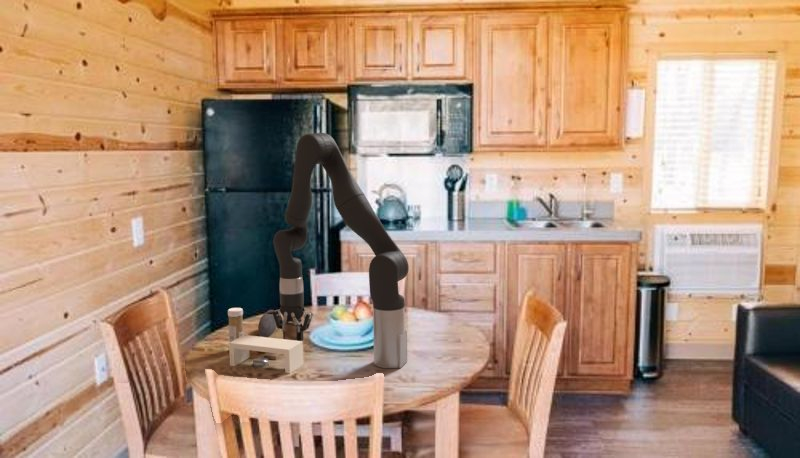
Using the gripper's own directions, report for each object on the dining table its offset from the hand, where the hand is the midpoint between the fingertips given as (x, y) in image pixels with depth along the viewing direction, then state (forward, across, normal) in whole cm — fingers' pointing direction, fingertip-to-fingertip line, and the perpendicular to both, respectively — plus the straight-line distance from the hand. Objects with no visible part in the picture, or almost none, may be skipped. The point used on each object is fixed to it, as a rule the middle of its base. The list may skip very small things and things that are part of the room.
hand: (293, 341), depth 204 cm
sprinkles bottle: (+1, +14, +11) cm, 18 cm away
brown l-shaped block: (+1, 0, +6) cm, 6 cm away
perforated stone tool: (+1, +14, -7) cm, 16 cm away
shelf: (+1, -2, +20) cm, 20 cm away
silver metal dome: (+1, 0, +20) cm, 20 cm away
